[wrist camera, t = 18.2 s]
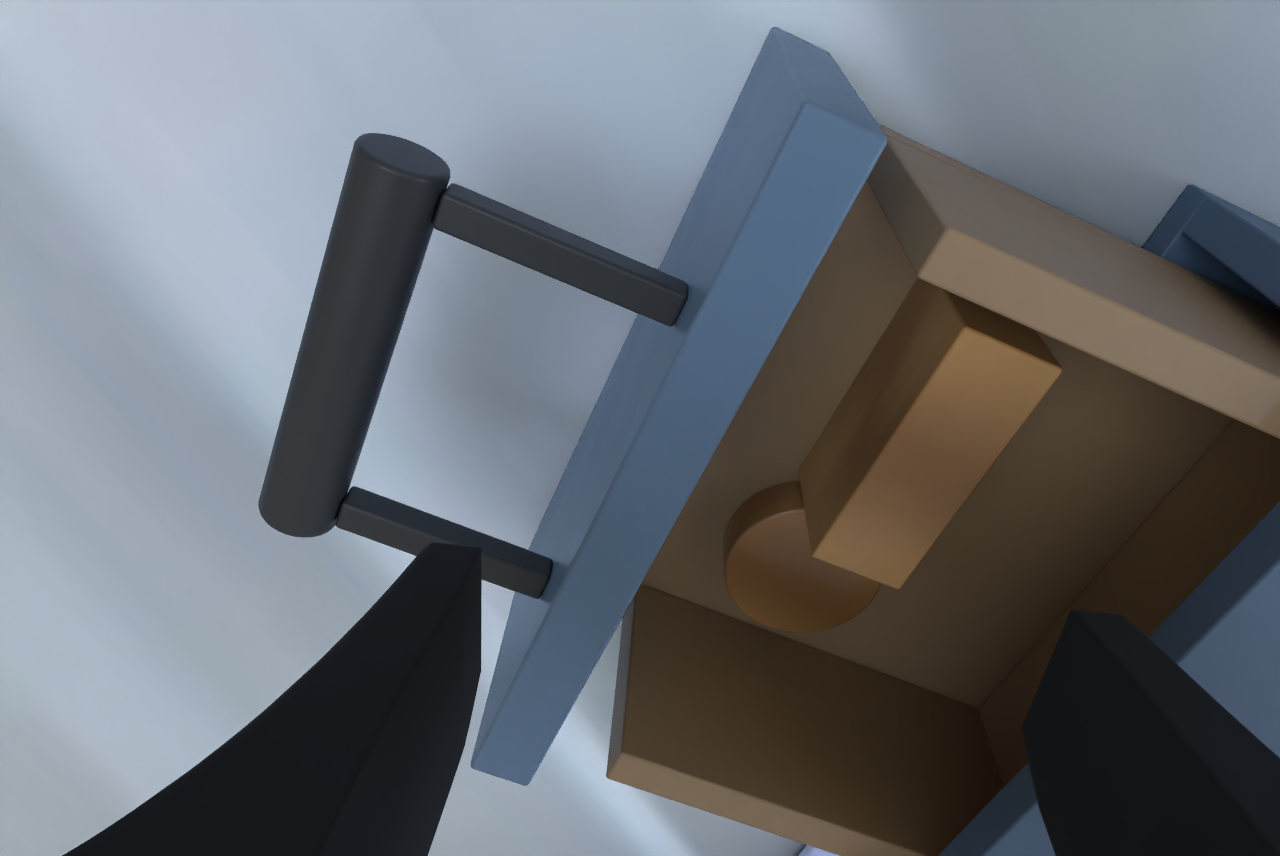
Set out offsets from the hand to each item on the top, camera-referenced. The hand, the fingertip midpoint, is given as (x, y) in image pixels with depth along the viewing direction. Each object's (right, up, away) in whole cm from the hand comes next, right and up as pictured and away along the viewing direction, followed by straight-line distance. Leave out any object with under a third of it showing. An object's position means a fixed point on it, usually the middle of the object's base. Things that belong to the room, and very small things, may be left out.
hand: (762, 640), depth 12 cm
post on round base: (+3, +2, +8) cm, 9 cm away
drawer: (+2, +3, +9) cm, 10 cm away
